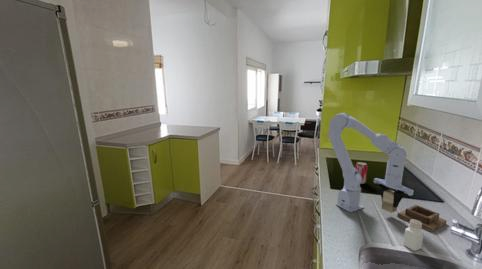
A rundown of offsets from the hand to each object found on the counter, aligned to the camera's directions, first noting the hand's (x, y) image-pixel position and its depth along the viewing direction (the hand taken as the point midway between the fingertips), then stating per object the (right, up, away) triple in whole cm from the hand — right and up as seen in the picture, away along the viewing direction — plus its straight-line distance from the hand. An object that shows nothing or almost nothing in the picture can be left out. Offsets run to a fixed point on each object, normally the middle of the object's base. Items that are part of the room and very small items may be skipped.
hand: (389, 204), depth 93 cm
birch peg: (0, -2, 0) cm, 2 cm away
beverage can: (+7, +1, +37) cm, 37 cm away
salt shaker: (-5, -9, -18) cm, 21 cm away
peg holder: (+12, -6, -2) cm, 13 cm away
